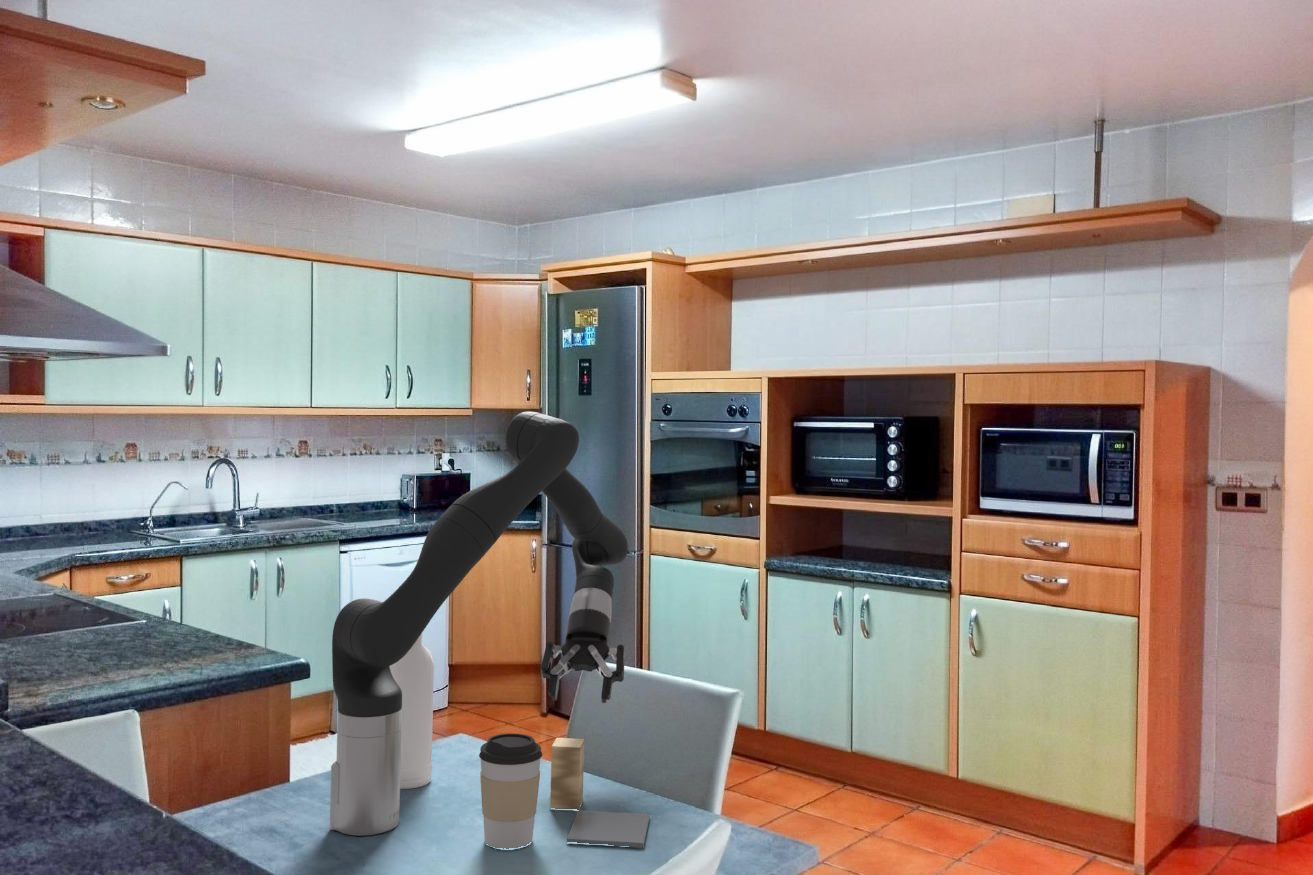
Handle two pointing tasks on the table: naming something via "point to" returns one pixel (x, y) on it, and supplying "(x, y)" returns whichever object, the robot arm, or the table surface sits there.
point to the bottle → (416, 714)
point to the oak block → (567, 773)
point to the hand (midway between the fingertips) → (578, 699)
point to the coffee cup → (509, 789)
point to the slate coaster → (610, 828)
